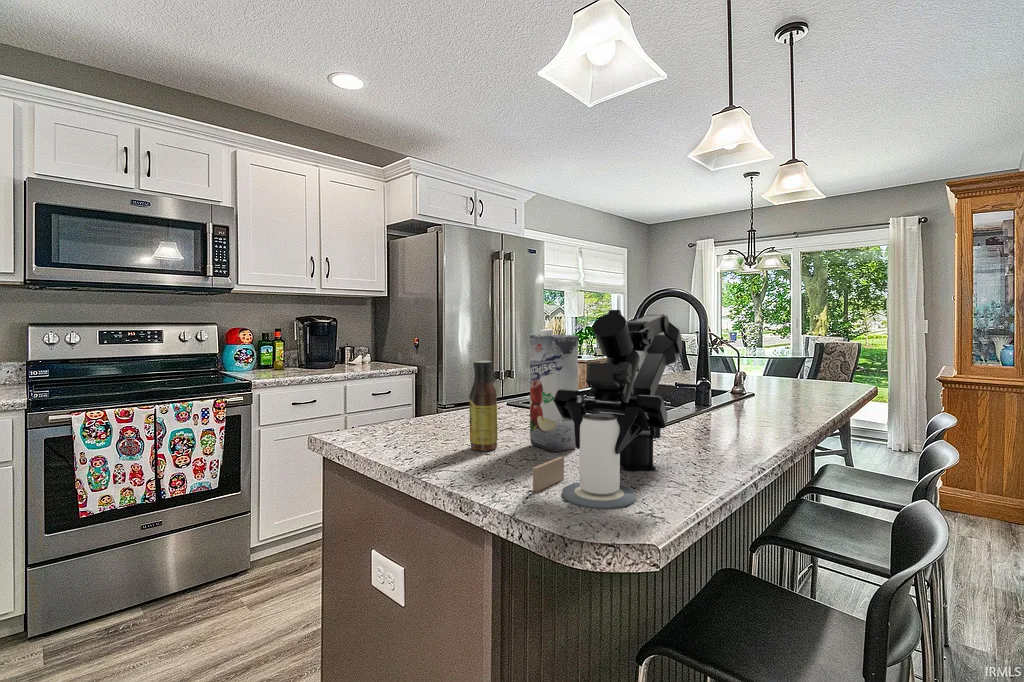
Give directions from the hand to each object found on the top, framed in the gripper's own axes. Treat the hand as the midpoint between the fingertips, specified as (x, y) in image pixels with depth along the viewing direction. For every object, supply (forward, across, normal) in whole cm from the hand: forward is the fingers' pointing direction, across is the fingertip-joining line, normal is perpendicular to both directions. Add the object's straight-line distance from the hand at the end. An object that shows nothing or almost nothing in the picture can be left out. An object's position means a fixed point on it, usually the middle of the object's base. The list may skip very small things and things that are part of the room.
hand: (596, 450), depth 84 cm
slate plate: (+5, 0, +6) cm, 8 cm away
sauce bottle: (-7, -34, +19) cm, 39 cm away
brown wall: (+4, -10, +7) cm, 13 cm away
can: (+4, 0, +6) cm, 7 cm away
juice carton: (-14, -21, +26) cm, 36 cm away
